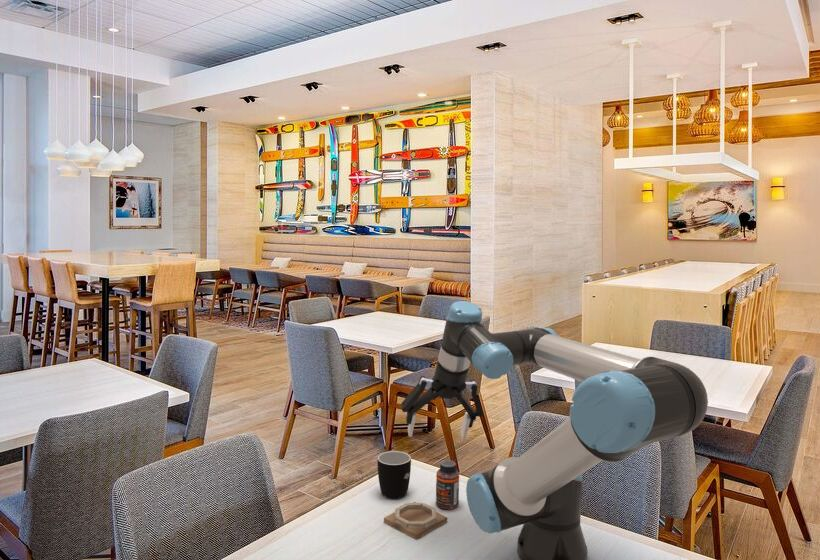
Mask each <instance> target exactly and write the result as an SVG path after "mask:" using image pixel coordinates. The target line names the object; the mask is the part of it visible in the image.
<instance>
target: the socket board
mask: <svg viewBox="0 0 820 560" xmlns="http://www.w3.org/2000/svg"><path fill="white" fill-rule="evenodd" d="M394 510H395V511H394V512H393V513H390V514H389V515H387V516H384V517H383V523H384V524H386V525H387V526H390V527H392V528H394V530H395V529H396V531H400V532H401V533H403V534H405V535H407V536H408V537H410V538H411V539H412V538H413V539H415V540H416V539H418V540H419V539H421V538H422V536H423V537H424V536H426V535H427V534H430V533H431V532H433V531H435V530H436V529H438V528H440V527H442V526H443V525H445V524H447V523H448V516H446V515H443V514H442V513H439V512H437V510H436V507H434V506H431V505H429V504H427V503H425V502H416V501H413V502H406V503H404V504H402V505H400V506H398V507H396V508H395V509H394Z"/></svg>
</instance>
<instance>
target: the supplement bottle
mask: <svg viewBox="0 0 820 560" xmlns="http://www.w3.org/2000/svg"><path fill="white" fill-rule="evenodd" d="M456 465H457V464H456V462H455V461H454V460H450V459H449V460H448V459H447V460H445V459H444V460H442V461H440V463H439V466H440V467H439V469H438V470H437V471H436V475H435V476H436V478H435V480H436V481H435V504H436V506H437V507H438V508H440V509H442V510H453V509H455V508H457V507H458V505H459V503H460V502H459V498H460V497H459V496H460V495H459V494H460V473H459V471H458V470H457V466H456Z"/></svg>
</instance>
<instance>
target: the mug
mask: <svg viewBox="0 0 820 560" xmlns="http://www.w3.org/2000/svg"><path fill="white" fill-rule="evenodd" d="M411 466H412V457H411V455H410V454H408V453H407V452H404V451H402V450H401V451H399V450H388V451H385V452H382V453H380V454H379V455H378V457H377V473H378V475H377V476H378V484H379V488H380V492H381V494H382V495H383V497H384V498H387V499H389V498H390V500H397V499H398V498H399V499H402V498H403V496H404V497H405V496H406V494H407V493H408V490H409V486H410V480H411V479H410V478H411V470H412V469H411V468H412V467H411ZM401 497H402V498H401ZM399 499H398V500H399Z"/></svg>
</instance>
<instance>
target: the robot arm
mask: <svg viewBox="0 0 820 560" xmlns="http://www.w3.org/2000/svg"><path fill="white" fill-rule="evenodd" d="M482 320H483V311H482V308H481V307H480V306H479V305H478V304H475V303H474V302H470V301H466V300H461V301H459V300H458V301H455V302H453V303H452V304H451V305H450V307H449V310H448V313H447V316H446V318H445V324H444V328H443V335H442V340H441V345H440V349H439V354H438V357H437V362H436V367H435V370H434V376H433V377H432V378H431V379H429V378H426V376H425V375H421V376H420V377H419V380H418V382H417V384H416V385H415V386H414V388H413V389H412V390H411V391H410V392H409V393H408V395H407V396H406V397H405V398H404V400H403V401H402V402H401V404H400V405H401V411H402V413H406V416H405V422H406V424H407V425H408V427H407V435H408V437H409V438H412V437H413V433H414V430H415V429H414V427H415V424H416V419H417V412H418V411H419V410H421V409H423V408H424V407H425V406H426V405H427V404H429V403H430V402H431V401H435V400H436V399H438V398H439V399H451V400H453V399H454V398H456V400H457V401H458V402H459V403H460V404H461V406H462V407H463V409H464V411H465V413H464V416H463V421H462V424H461V428H460V432H459V433H460V436H461V440H462V441H466V438H467V433H468V430H469V428H472V427H473V426H474V425H473V424H474V422H475V421H476V420H477V417H479V418H482V417H483V416H484V412H483V410H482V407H481V403H480V400H479V397H478V393H477V391H478V385H477V383H476V380H475V379H471V380H470V381H466V380H467V376H468V373H469V367H470V365H471V364H472V365H473V367H474V368H475V369H476V370H477V371H479V372H480V373H481V374H482V375H483V376H484V377H486V378H487V379H490V380H497V379H500V378H501V377H502V376H505V375H507V374H508V373H509V372H510V370H511V368H512V367H514V366H521V365H527V364H528V365H529V364H530V365H531V364H532V365H534V366H537V367H540V368H544V369H546V370H548V371H551V372H554V373H557V374H559V375H562V376H565V377H568V378H571V379H572V380H576V381H579V382H580V384H579V385H578V386H577V387H576V388H575V390H574V391H573V394H572V397H571V401H572V402H573V403H572V404H570V407H569V415H568V416H569V417H568V418H567V419H566V420H564V421H563V422H561V424H559V425H558V426H557V427H556V428H554V429H553V430H552V431H551V432H549V433H548V434H547V435H545V437H543V438H542V439H540V440H539V441H538V442H536V443H535V444H533V446H532V447H530V448H529V449H528V450H527V451H525V452H524V453H523V454H522V455H520V456H519V457H518V456H510V457H506V458H504V459H503V460H501V461H500V462H498V463H497V464H496V465H495V466H494V467H492V468H491V469H489V470H486V471H483V472H476V473H475V474H472V475H471V476H470V477H468V479H467V481H466V487H465V493H466V500H467V506H468V509H469V511H470V515H471V516H472V519H473V521H474V522H475V524H476V526H478V527H479V529H480V530H481V531H483V532H484V533H486V534H494V533H498V534H499V533H500V532H502V531H505V530H508V529H511V528H514V527H518V526H520V525H522V527H521V530H520V531H519V533H518V534H519V535H518V537H517V542H516V544H517V545H516V548H517V549H516V552H517V555H518V557H519V559H520V560H588V553H589V552H588V546H587V544H586V540H585V539H586V538H585V537H584V532H583V529H582V527H581V526H582V525H581V518H582V517H581V515H582V496H583V494H582V493H583V481H584V477H583V474H584V473H585V472H587V471H588V470H589V471H590V469H592V468H594V466H596V465H598V464H599V463H602V462H606V463H609V464H610V463H612V464H613V463H618V462H621V461H623V460H625V459H626V458H628V457H629V456H631V455H633V454H635V453H637V451H640V450H641V449H643V448H645V447H646V446H648V445H651V444H654V443H657V442H661V441H664V440H665V441H666V440H669V439H673V438H677V437H680V436H683V435H687V434H689V433H690V432H693V430H695V429H696V428H697V427H699V425H700V424H701V423H702V421H704V418H705V416H706V413H707V410H708V406H709V405H708V403H709V398H708V393H707V389H706V386H705V385H704V383H703V381H702V380H701V378H700V377H699V376H698V375H697V374H696V373H695V372H694V371H693V370H691V369H690V368H688V367H687V366H685V365H682V364H680V363H679V362H678V363H677V362H673V361H670V360H667V359H663V358H659V357H655V356H646V357H645V356H644V357H642V358H636V357H633V356H630V355H626V354H623V353H619V352H616V351H611V350H610V349H609V350H608V349H604V348H601V347H597V346H595V345H591V344H588V343H587V344H586V343H584V342H579V341H576V340H572V339H568V338H565V337H561V336H559V334H558V333H557V332H555V330H553V329H552V328H549V327H535V328H534V327H533V328H529V329H528V328H527V329H519V330H512V331H502V332H491V331H489V330H488V328H486V327H485V326H484V325H483V324H482ZM429 386H430V387H429ZM428 387H429V388H428ZM425 389H428V390H427V391H426V392H424V391H425ZM465 389H467V391H469V392H470V395H471V397H472V401H473V403H474V406H475V408H473V406H472V405H471V403H469V401H468V400H467V398H466V397H465V396H464V394H463V393H462V392H463V391H465Z"/></svg>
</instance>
